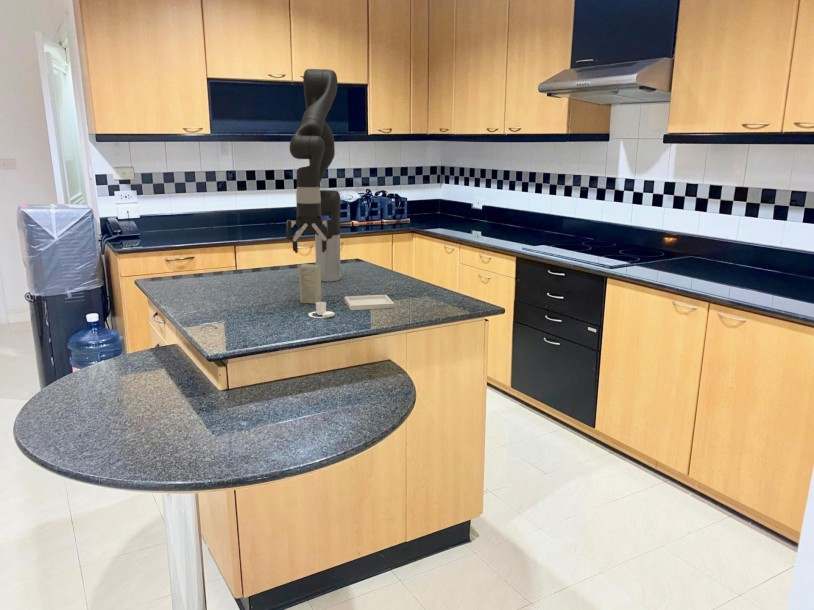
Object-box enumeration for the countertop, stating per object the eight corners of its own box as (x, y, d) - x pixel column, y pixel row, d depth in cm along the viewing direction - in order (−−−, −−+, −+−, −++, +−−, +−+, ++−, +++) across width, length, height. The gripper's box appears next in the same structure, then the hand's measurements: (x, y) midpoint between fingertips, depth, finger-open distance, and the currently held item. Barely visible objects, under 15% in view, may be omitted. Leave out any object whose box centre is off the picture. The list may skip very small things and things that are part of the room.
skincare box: (322, 300, 211) (321, 264, 208) (317, 304, 207) (316, 267, 204) (304, 299, 213) (303, 263, 210) (299, 302, 209) (298, 266, 205)
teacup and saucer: (337, 319, 192) (337, 306, 191) (310, 321, 190) (310, 307, 189) (332, 311, 200) (332, 299, 199) (306, 313, 198) (306, 300, 197)
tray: (344, 300, 212) (344, 296, 211) (386, 299, 215) (386, 294, 215) (350, 310, 200) (350, 305, 200) (394, 308, 204) (394, 303, 203)
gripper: (329, 200, 207) (330, 250, 211) (284, 200, 204) (286, 251, 208) (332, 202, 200) (333, 253, 204) (286, 202, 197) (288, 255, 201)
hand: (309, 252), depth 206 cm, fingers open, 8 cm apart
